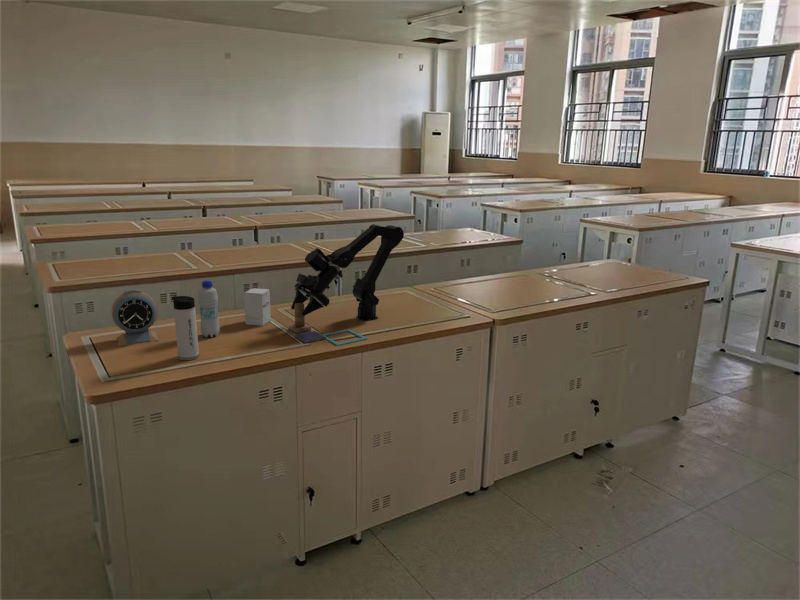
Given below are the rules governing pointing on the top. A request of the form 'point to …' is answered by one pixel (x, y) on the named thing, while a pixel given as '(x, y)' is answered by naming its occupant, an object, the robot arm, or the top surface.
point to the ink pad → (310, 337)
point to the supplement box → (257, 306)
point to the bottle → (208, 309)
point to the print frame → (346, 341)
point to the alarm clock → (135, 317)
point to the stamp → (299, 320)
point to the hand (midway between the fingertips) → (297, 311)
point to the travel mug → (186, 327)
